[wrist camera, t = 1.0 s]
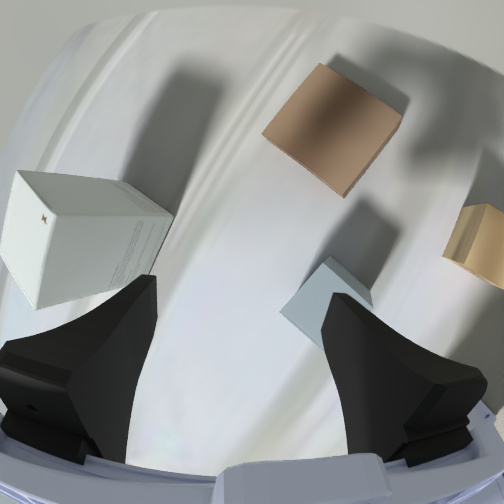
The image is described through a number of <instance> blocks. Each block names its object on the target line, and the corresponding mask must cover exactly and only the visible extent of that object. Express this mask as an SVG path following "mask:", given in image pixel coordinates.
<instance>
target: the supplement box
mask: <svg viewBox="0 0 504 504" xmlns="http://www.w3.org/2000/svg"><path fill="white" fill-rule="evenodd" d="M173 219H174V216H173V215H172V214H171V213H169V212H168V211H166V210H165V209H163V208H162V207H161V206H159V205H158V204H156V203H155V202H154V201H152V200H151V199H149V198H148V197H147V196H145V195H144V194H142V193H141V192H140V191H138V190H137V189H135V188H134V187H133V186H131V185H130V184H128V183H127V182H124V181H116V180H109V179H101V178H92V177H84V176H75V175H67V174H57V173H46V172H35V171H24V170H17V171H16V174H15V177H14V181H13V185H12V189H11V193H10V198H9V202H8V207H7V211H6V216H5V221H4V226H3V232H2V238H1V244H0V255H1V257H2V259H3V261H4V262H5V264H6V266H7V268H8V269H9V271H10V273H11V274H12V276H13V278H14V279H15V281H16V282H17V284H18V285H19V287H20V288H21V290H22V291H23V293H24V294H25V296H26V297H27V299H28V300H29V302H30V303H31V305H32V306H33V308H34V310H39V309H43V308H46V307H50V306H54V305H58V304H61V303H65V302H69V301H73V300H76V299H80V298H84V297H88V296H92V295H95V294H99V293H103V292H107V291H110V290H114V289H118V288H122V287H125V286H127V285H128V284H130V283H131V282H132V281H133V280H135V279H136V278H137V277H138V276H140V275H141V274H146V275H148V274H149V271H150V269H151V267H152V265H153V262H154V260H155V258H156V255H157V253H158V251H159V249H160V247H161V244H162V242H163V240H164V238H165V236H166V234H167V231H168V229H169V227H170V225H171V223H172V221H173Z"/></svg>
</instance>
